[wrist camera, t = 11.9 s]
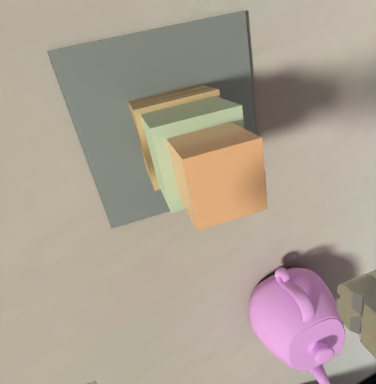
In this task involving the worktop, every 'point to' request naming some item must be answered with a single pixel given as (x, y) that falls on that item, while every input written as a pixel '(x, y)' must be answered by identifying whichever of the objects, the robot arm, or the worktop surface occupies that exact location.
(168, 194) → the sage top block
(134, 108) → the oak base block
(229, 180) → the light orange cube
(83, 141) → the slate mat
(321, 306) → the teapot
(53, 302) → the worktop surface
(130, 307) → the worktop surface
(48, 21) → the worktop surface
